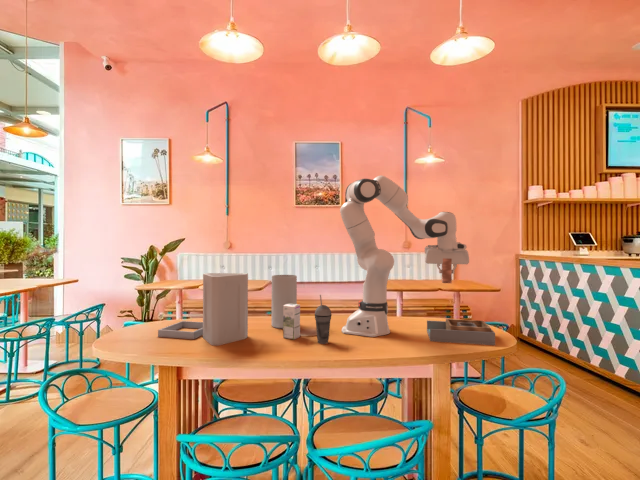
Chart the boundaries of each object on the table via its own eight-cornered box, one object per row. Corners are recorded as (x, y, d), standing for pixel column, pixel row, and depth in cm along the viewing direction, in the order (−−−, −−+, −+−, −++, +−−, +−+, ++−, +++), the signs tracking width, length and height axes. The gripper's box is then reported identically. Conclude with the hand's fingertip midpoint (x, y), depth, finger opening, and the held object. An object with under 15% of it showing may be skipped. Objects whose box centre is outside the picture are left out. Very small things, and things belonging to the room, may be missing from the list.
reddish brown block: (442, 283, 168) (442, 258, 168) (441, 282, 171) (441, 258, 172) (451, 283, 167) (451, 258, 167) (450, 282, 171) (450, 258, 171)
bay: (430, 341, 147) (430, 329, 147) (426, 330, 164) (426, 320, 164) (495, 345, 141) (495, 333, 141) (484, 334, 158) (485, 323, 158)
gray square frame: (158, 336, 152) (158, 329, 152) (182, 326, 170) (182, 320, 170) (193, 339, 149) (193, 332, 149) (214, 329, 166) (214, 322, 166)
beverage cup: (330, 345, 141) (330, 296, 141) (312, 344, 142) (312, 295, 142) (332, 340, 148) (333, 293, 148) (316, 339, 149) (316, 293, 149)
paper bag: (192, 344, 141) (192, 276, 141) (206, 334, 156) (207, 272, 156) (237, 346, 139) (238, 276, 140) (248, 335, 154) (248, 273, 154)
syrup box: (300, 336, 154) (300, 303, 154) (294, 339, 148) (294, 306, 148) (289, 334, 156) (289, 302, 156) (282, 338, 151) (282, 305, 151)
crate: (450, 338, 147) (450, 326, 147) (445, 330, 161) (445, 318, 161) (490, 341, 143) (490, 328, 143) (482, 332, 157) (482, 320, 157)
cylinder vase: (295, 329, 167) (295, 277, 167) (269, 328, 167) (269, 277, 167) (297, 322, 179) (297, 274, 179) (273, 322, 179) (273, 274, 179)
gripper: (425, 245, 168) (425, 273, 168) (470, 245, 164) (469, 274, 164) (424, 244, 174) (424, 272, 174) (467, 245, 170) (467, 273, 170)
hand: (446, 273), depth 169 cm, fingers closed on reddish brown block, 4 cm apart
